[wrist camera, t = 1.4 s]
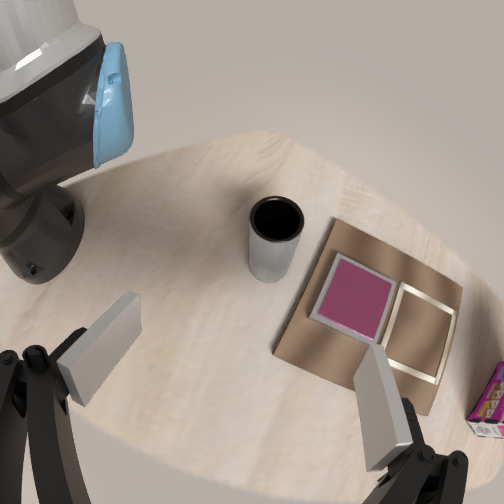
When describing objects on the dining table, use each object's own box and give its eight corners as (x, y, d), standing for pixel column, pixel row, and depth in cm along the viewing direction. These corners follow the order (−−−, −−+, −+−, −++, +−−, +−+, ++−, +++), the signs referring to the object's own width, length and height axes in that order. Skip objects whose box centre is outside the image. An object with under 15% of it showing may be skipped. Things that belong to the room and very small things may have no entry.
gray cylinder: (270, 239, 33) (278, 186, 24) (296, 266, 32) (315, 221, 22) (241, 261, 32) (237, 214, 23) (266, 291, 31) (275, 253, 21)
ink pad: (307, 318, 28) (310, 315, 27) (334, 256, 31) (338, 251, 30) (370, 347, 27) (376, 346, 25) (391, 285, 30) (397, 281, 28)
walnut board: (272, 355, 28) (273, 354, 27) (334, 222, 34) (337, 218, 33) (423, 415, 24) (428, 416, 23) (458, 289, 30) (463, 286, 29)
